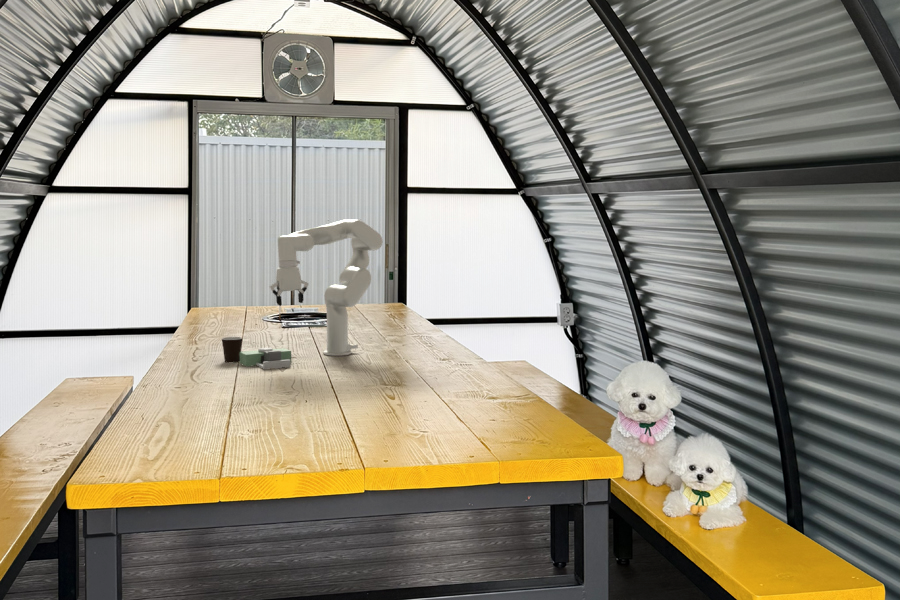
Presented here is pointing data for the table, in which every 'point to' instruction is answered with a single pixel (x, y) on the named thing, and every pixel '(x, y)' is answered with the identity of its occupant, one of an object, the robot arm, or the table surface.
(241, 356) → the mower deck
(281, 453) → the table surface
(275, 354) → the grey block
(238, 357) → the coffee mug
